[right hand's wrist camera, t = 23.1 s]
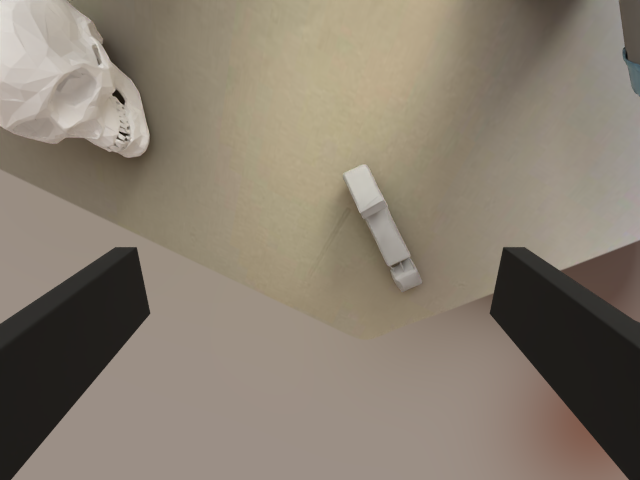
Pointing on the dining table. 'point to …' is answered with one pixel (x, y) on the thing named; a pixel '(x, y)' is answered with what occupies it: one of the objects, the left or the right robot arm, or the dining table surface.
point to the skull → (64, 80)
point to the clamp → (382, 226)
